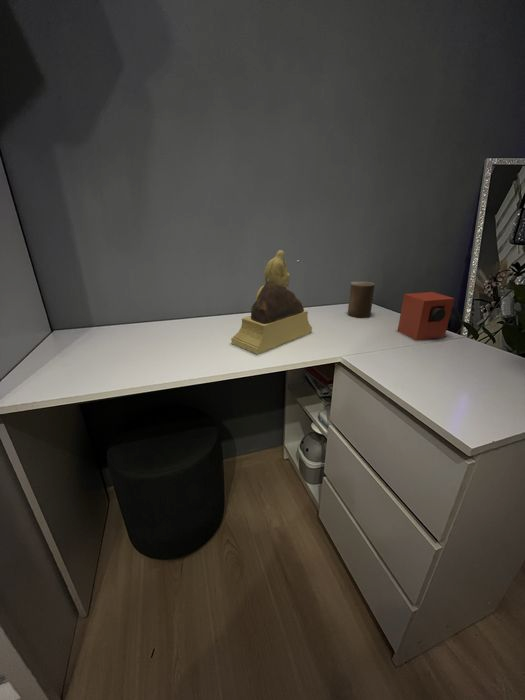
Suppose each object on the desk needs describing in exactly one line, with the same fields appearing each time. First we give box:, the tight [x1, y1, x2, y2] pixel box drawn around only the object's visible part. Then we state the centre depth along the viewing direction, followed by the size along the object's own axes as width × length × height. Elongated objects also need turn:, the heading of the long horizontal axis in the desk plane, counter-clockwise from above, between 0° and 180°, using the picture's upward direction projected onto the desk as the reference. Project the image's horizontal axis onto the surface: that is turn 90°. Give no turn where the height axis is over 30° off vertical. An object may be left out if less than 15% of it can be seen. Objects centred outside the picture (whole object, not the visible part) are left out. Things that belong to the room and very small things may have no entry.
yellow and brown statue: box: [230, 249, 313, 355], centre depth 101 cm, size 28×13×30 cm, turn 134°
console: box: [397, 291, 455, 341], centre depth 107 cm, size 10×12×14 cm
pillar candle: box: [347, 280, 376, 319], centre depth 128 cm, size 10×10×15 cm
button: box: [430, 308, 445, 322], centre depth 101 cm, size 2×4×4 cm, turn 104°
